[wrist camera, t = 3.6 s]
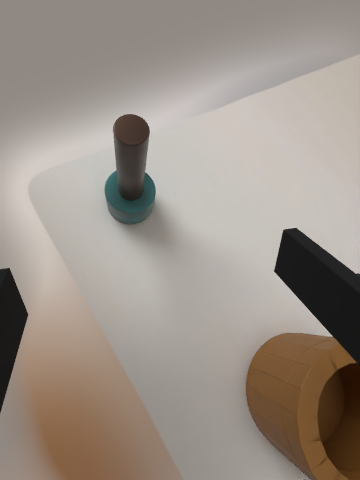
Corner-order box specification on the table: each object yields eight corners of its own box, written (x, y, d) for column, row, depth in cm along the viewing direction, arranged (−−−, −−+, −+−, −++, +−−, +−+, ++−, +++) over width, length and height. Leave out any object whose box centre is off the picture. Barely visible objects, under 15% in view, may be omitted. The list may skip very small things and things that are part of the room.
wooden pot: (226, 409, 27) (271, 454, 18) (276, 312, 30) (334, 312, 22) (318, 475, 27) (405, 551, 18) (358, 371, 31) (448, 394, 22)
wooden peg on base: (97, 206, 30) (76, 131, 17) (125, 174, 31) (124, 84, 19) (134, 233, 30) (139, 177, 17) (161, 199, 31) (182, 126, 19)
